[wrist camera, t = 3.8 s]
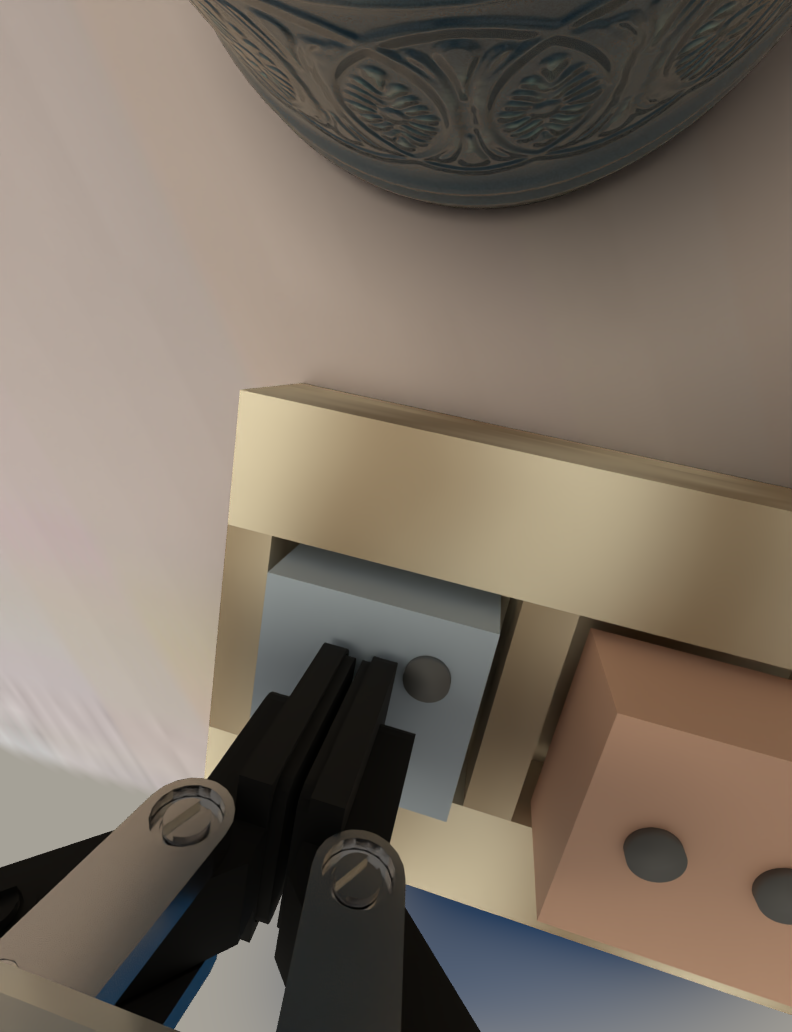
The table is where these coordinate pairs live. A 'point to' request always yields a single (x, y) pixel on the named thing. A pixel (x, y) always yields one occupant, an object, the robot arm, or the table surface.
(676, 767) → the orange square block
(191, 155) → the table surface
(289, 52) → the canister
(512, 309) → the table surface
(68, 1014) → the robot arm
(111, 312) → the table surface
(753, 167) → the table surface
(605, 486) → the wooden tile tray
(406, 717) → the building block
